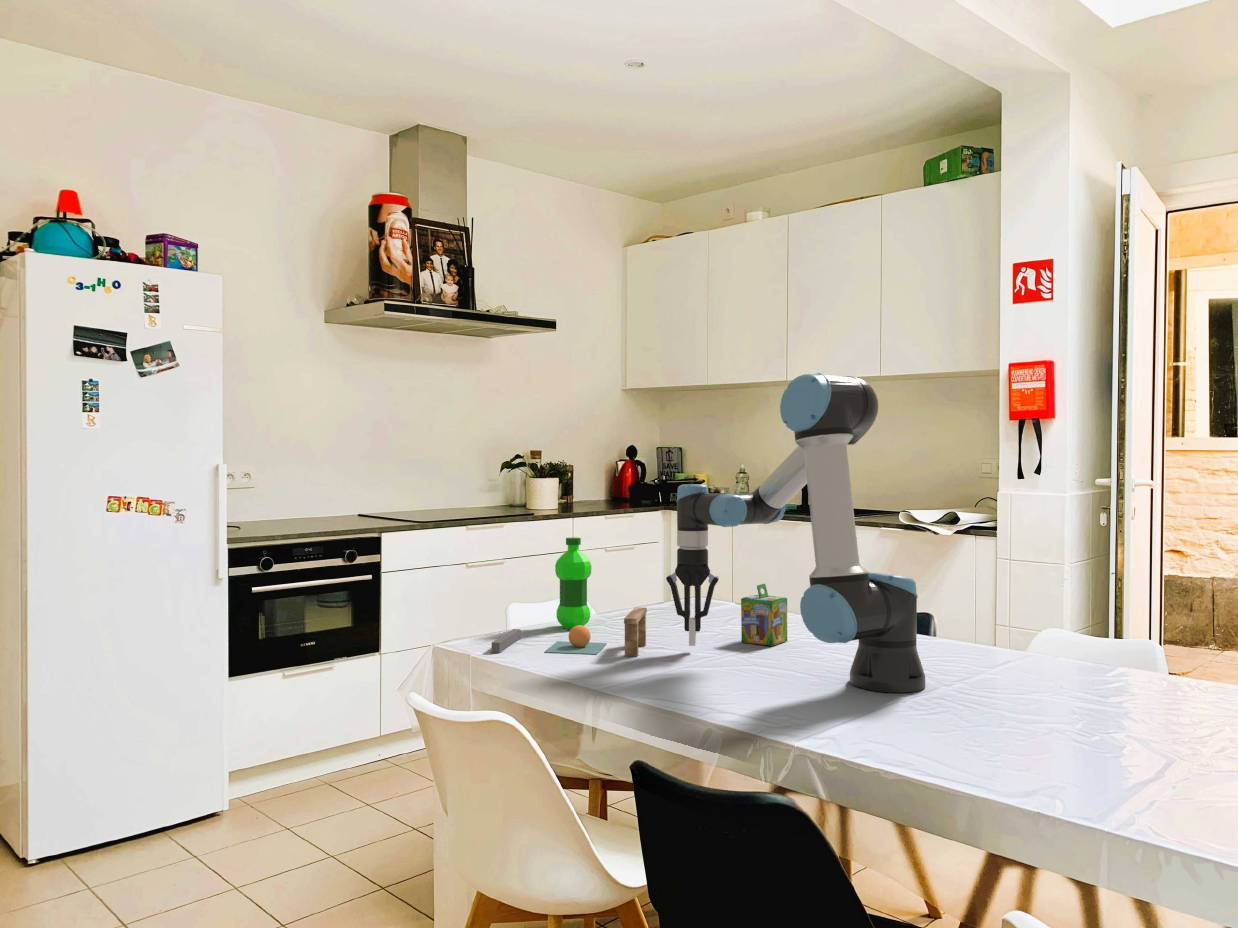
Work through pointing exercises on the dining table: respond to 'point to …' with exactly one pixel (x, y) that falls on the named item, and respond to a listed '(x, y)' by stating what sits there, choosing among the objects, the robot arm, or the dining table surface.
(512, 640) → the grey long bar
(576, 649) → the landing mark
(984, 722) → the dining table surface
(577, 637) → the ball
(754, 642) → the chalk box
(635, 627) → the bridge
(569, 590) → the plastic bottle
